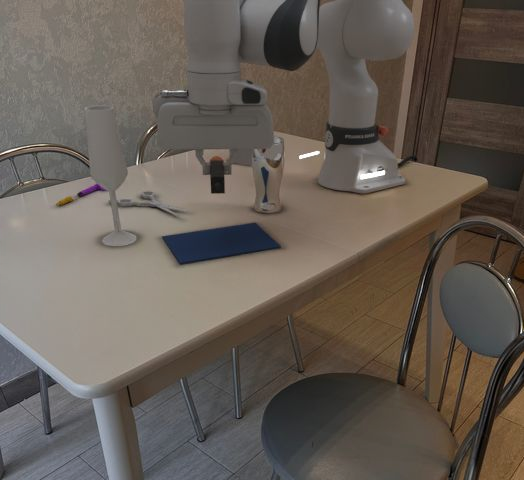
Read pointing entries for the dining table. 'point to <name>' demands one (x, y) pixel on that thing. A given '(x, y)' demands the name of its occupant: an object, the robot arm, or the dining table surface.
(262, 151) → the beer glass
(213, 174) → the marker
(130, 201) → the scissors
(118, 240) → the champagne flute
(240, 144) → the robot arm
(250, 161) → the lumpy-topped squat cylinder
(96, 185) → the purple and yellow rod
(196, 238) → the mat
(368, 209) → the dining table surface
